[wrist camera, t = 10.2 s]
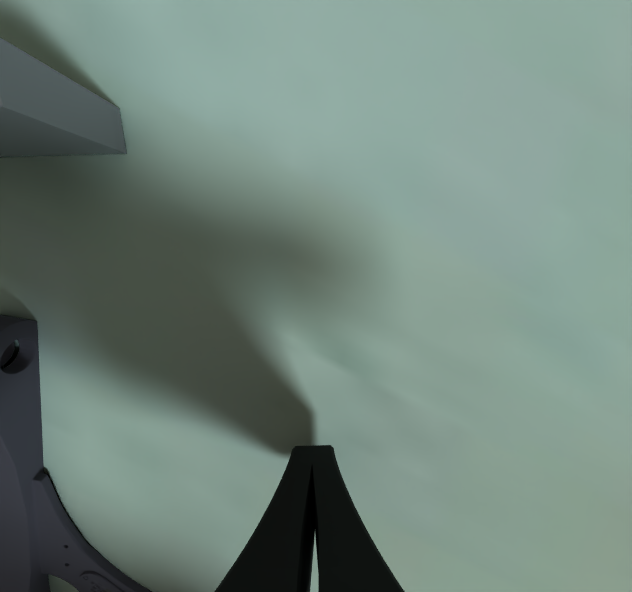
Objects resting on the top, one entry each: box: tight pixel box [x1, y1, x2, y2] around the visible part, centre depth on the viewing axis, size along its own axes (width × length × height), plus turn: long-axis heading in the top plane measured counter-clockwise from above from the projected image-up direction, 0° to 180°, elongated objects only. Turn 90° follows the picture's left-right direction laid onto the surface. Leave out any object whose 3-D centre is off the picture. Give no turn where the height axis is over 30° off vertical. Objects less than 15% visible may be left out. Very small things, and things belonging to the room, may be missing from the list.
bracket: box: [0, 315, 152, 592], centre depth 11 cm, size 14×15×3 cm
